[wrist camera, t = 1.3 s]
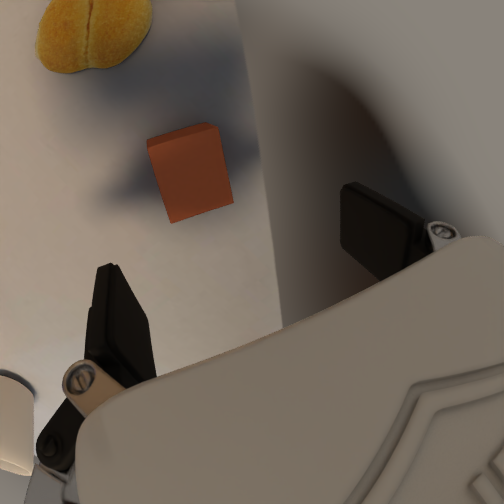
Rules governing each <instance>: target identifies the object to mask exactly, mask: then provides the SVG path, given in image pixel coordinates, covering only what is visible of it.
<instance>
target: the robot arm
mask: <svg viewBox="0 0 504 504" xmlns="http://www.w3.org/2000/svg"><path fill="white" fill-rule="evenodd" d="M340 209H341V210H340V211H341V212H340V219H341V220H340V221H341V222H340V223H341V224H340V243H341V246H342V248H343V249H344V250H345V251H346V252H347V253H349V254H350V255H351V256H352V257H353V258H354V259H355V260H357V261H358V262H359V263H360V264H361V265H363V266H364V267H365V268H366V269H367V270H368V271H369V272H370V273H372V274H373V275H374V276H375V277H376V278H377V279H378V280H379V281H380V282H379V283H377V284H375V285H373V286H371V287H369V288H367V289H365V290H363V291H361V292H359V293H358V294H356V295H354V296H352V297H350V298H348V299H345V300H344V301H341V302H339V303H337V304H335V305H333V306H331V307H329V308H327V309H325V310H323V311H321V312H319V313H316V314H314V315H312V316H310V317H308V318H305V319H303V320H301V321H299V322H297V323H295V324H292V325H290V326H288V327H285V328H283V329H281V330H278V331H276V332H274V333H271V334H269V335H267V336H264V337H262V338H260V339H257V340H255V341H252V342H250V343H247V344H245V345H242V346H240V347H237V348H235V349H232V350H229V351H227V352H224V353H222V354H219V355H216V356H214V357H211V358H208V359H206V360H203V361H200V362H197V363H195V364H192V365H189V366H186V367H183V368H181V369H178V370H175V371H172V372H169V373H167V374H164V375H161V376H158V377H157V376H156V370H155V364H154V358H153V351H152V345H151V338H150V330H149V323H148V319H147V317H146V314H145V313H144V311H143V309H142V308H141V306H140V304H139V302H138V301H137V299H136V297H135V295H134V293H133V292H132V290H131V288H130V286H129V284H128V282H127V281H126V279H125V277H124V275H123V273H122V271H121V269H120V267H119V266H118V265H113V264H112V263H109V264H106V265H103V266H101V267H98V269H97V273H96V279H95V285H94V292H93V299H92V307H90V308H89V312H88V320H87V329H86V340H85V353H84V360H79V361H77V362H75V363H74V364H72V365H71V366H70V367H69V368H68V370H67V371H66V372H65V375H64V377H63V381H62V388H63V392H64V394H65V395H66V397H67V398H66V399H65V400H64V402H63V403H62V404H61V406H60V407H59V408H58V410H57V411H56V412H55V414H54V415H53V416H52V418H51V419H50V420H49V422H48V423H47V425H46V426H45V427H44V429H43V430H42V432H41V433H40V435H39V437H38V439H37V442H36V453H37V457H38V458H39V460H40V463H39V465H38V464H35V465H34V469H33V472H32V475H31V479H30V482H29V485H28V489H27V493H26V497H25V501H24V504H504V246H503V245H502V244H501V243H499V242H497V241H496V240H494V239H492V238H490V237H486V236H473V237H466V238H463V239H461V237H460V235H459V232H458V231H457V229H456V228H454V227H453V226H451V225H450V224H447V223H444V222H439V221H437V222H436V221H435V222H431V223H429V224H428V226H427V230H426V229H424V228H423V227H424V221H425V219H423V218H422V217H420V216H418V215H417V214H415V213H413V212H411V211H410V210H408V209H406V208H404V207H403V206H401V205H399V204H398V203H396V202H394V201H392V200H390V199H388V198H386V197H385V196H383V195H381V194H379V193H378V192H376V191H374V190H372V189H369V188H368V187H366V186H364V185H362V184H360V183H358V182H352V183H348V184H345V185H344V186H343V188H342V189H341V191H340Z"/></svg>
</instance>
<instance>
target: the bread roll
mask: <svg viewBox="0 0 504 504" xmlns="http://www.w3.org/2000/svg"><path fill="white" fill-rule="evenodd" d="M151 21H152V5H151V1H150V0H52V1H51V3H50V4H49V6H48V7H47V9H46V11H45V13H44V15H43V17H42V19H41V22H40V23H39V29H38V32H37V39H36V43H35V56H36V57H37V58H38V59H39V60H40V61H41V62H42V64H43V65H44V66H45V67H46V68H47V69H48V70H50V71H53V72H58V73H73V72H76V71H80V70H83V69H86V68H93V67H94V68H109V67H112V66H115V65H117V64H119V63H121V62H122V61H123V60H124V59H126V58H127V57H128V56H129V55H130V54H131V53H132V52H133V51H134V50H135V49H136V48H137V47H138V46H139V44H140V43H141V42H142V40H143V39H144V37H145V36H146V34H147V33H148V31H149V28H150V26H151Z"/></svg>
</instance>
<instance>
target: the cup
mask: <svg viewBox="0 0 504 504" xmlns="http://www.w3.org/2000/svg"><path fill="white" fill-rule="evenodd" d="M33 455H34V397H33V395H32V393H31V392H30V391H29V390H28V389H27V388H26V387H25V386H24V385H22V384H21V383H19V382H18V381H15V380H13V379H11V378H8V377H4V376H0V468H2V469H4V470H7V471H9V472H12V473H16V474H20V475H25V476H30V475H32V472H33Z"/></svg>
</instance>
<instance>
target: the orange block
mask: <svg viewBox="0 0 504 504" xmlns="http://www.w3.org/2000/svg"><path fill="white" fill-rule="evenodd" d="M147 150H148V153H149V157H150V160H151V163H152V167H153V170H154V173H155V177H156V180H157V183H158V186H159V189H160V193H161V196H162V199H163V202H164V205H165V208H166V211H167V214H168V217H169V220H170V223H171V224H172V223H175V222H178V221H181V220H183V219H186V218H189V217H192V216H195V215H198V214H201V213H204V212H207V211H210V210H213V209H216V208H219V207H223V206H226V205H229V204H232V203H234V201H233V197H232V192H231V187H230V182H229V177H228V173H227V168H226V163H225V158H224V153H223V149H222V144H221V139H220V134H219V129H218V127H216V126H214V125H211V124H209V123H206V122H205V123H201V124H197V125H194V126H190V127H187V128H183V129H180V130H176V131H173V132H170V133H166V134H163V135H160V136H157V137H154V138H151V139H148V140H147Z"/></svg>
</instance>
